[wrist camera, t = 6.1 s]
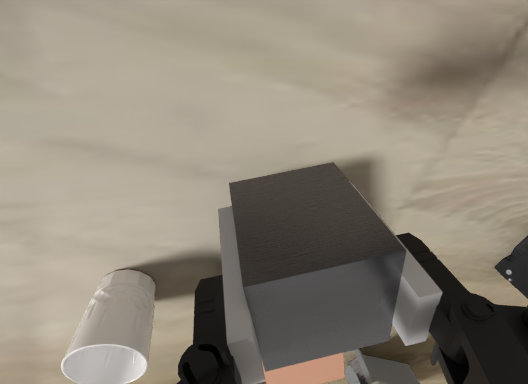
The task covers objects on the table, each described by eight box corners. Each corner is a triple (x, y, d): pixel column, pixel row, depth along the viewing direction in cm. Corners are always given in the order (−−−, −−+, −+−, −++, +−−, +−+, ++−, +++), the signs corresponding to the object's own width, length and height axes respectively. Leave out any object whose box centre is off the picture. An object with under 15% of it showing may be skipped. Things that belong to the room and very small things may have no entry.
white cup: (153, 261, 36) (137, 338, 27) (166, 302, 40) (155, 379, 32) (85, 269, 35) (46, 352, 26) (105, 310, 39) (77, 393, 31)
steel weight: (229, 183, 13) (242, 287, 8) (333, 162, 14) (406, 250, 9) (246, 259, 16) (265, 371, 11) (333, 239, 16) (388, 340, 11)
